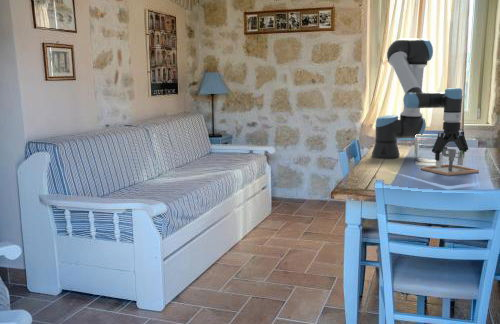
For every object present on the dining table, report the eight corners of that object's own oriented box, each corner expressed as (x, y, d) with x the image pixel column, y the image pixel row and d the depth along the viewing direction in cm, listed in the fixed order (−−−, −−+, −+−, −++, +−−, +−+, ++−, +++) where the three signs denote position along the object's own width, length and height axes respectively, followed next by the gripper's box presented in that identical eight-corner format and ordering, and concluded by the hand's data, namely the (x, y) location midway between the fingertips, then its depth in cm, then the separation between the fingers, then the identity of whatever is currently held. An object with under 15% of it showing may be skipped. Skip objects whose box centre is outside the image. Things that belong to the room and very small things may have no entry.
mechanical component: (462, 171, 226) (464, 150, 225) (439, 169, 228) (441, 148, 227) (460, 170, 229) (463, 150, 228) (438, 168, 231) (440, 148, 230)
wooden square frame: (420, 169, 233) (420, 167, 232) (449, 166, 240) (450, 164, 239) (448, 175, 217) (448, 173, 216) (478, 172, 224) (478, 169, 223)
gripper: (437, 123, 216) (434, 169, 220) (478, 120, 226) (475, 165, 229) (425, 122, 223) (423, 167, 227) (465, 119, 232) (463, 163, 236)
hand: (449, 166), depth 228 cm, fingers open, 13 cm apart
